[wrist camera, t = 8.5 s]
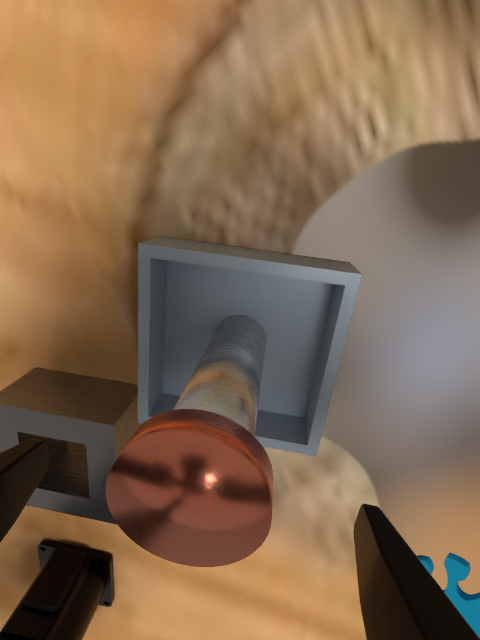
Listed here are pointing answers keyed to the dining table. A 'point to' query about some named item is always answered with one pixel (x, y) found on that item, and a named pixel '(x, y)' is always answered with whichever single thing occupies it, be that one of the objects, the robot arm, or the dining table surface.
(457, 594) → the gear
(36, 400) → the hitch block
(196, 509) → the pin
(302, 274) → the tray
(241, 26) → the dining table surface
